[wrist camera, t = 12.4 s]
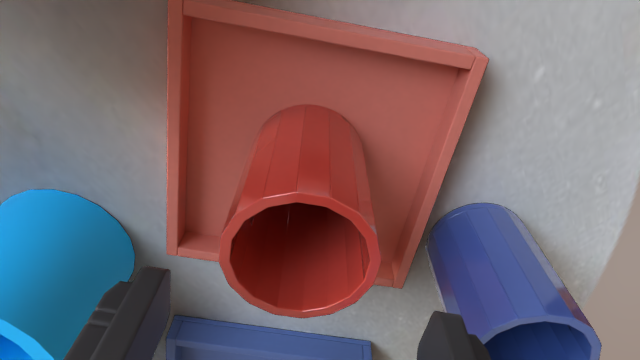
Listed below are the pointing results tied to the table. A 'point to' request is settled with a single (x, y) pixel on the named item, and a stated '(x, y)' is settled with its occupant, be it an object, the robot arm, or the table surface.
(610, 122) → the table surface
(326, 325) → the table surface
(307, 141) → the red cup
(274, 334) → the blue tray
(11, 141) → the table surface
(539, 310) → the blue cup
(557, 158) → the table surface
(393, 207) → the red tray
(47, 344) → the mug
